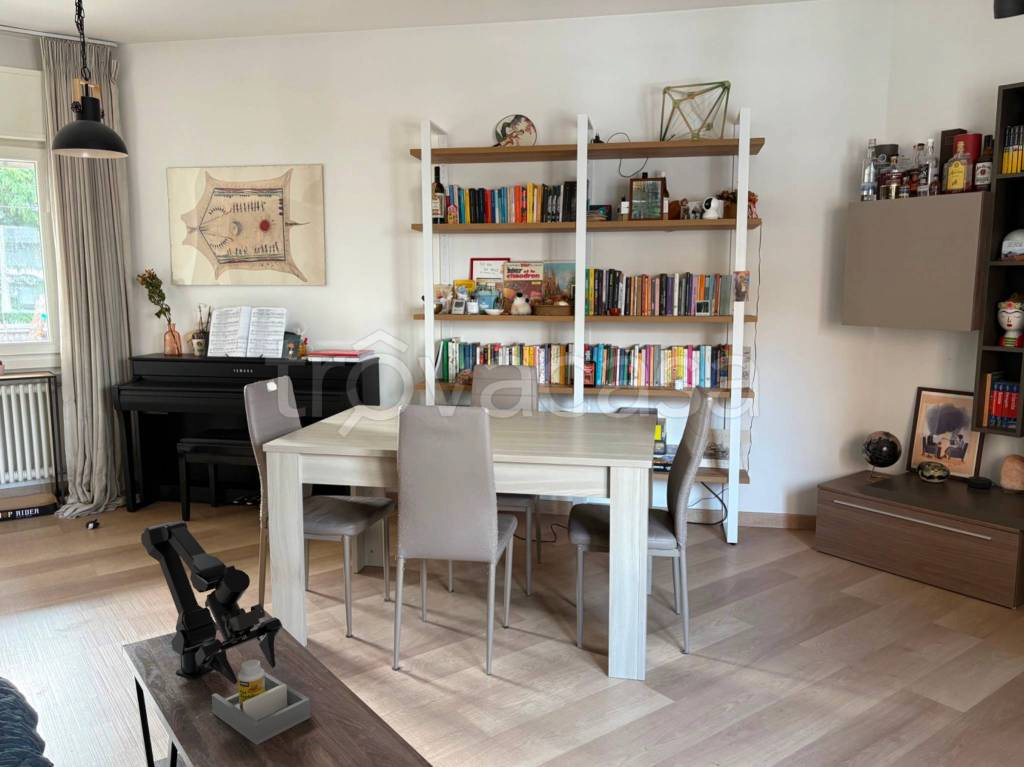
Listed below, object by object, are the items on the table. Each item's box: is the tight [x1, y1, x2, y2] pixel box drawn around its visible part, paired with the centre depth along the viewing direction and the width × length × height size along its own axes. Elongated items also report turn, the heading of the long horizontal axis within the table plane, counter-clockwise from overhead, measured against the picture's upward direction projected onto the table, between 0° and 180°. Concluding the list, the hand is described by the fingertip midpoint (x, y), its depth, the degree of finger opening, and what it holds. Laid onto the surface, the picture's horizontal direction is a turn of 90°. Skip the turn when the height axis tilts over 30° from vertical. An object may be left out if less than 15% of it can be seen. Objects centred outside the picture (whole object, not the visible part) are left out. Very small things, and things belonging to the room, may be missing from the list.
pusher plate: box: [243, 683, 288, 721], centre depth 163 cm, size 1×10×5 cm, turn 140°
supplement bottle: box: [237, 659, 265, 711], centre depth 165 cm, size 6×6×10 cm
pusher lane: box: [211, 671, 311, 746], centre depth 164 cm, size 18×13×4 cm
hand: (255, 675), depth 164 cm, fingers open, 9 cm apart
